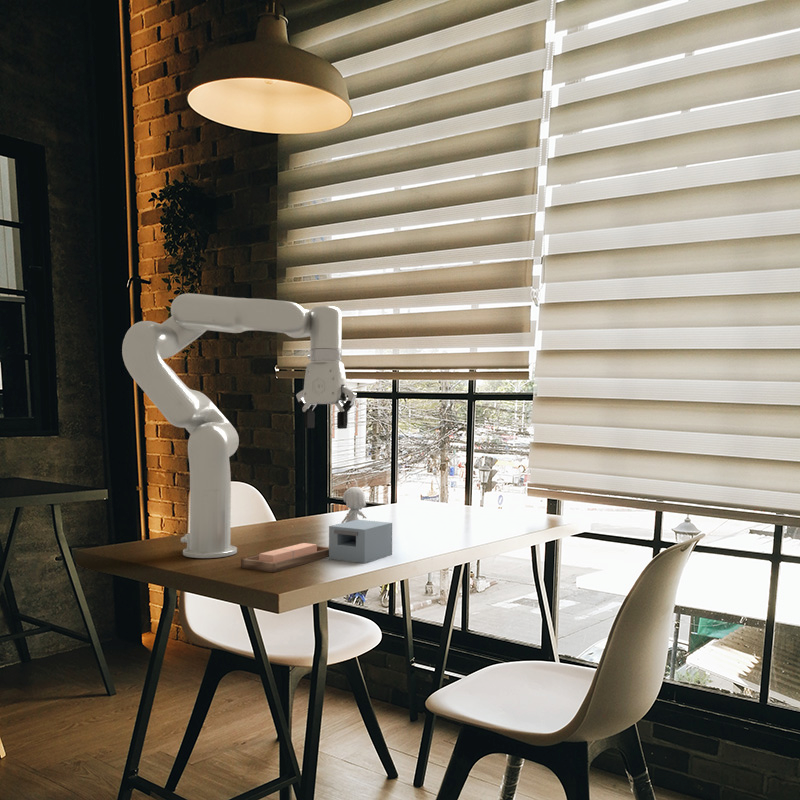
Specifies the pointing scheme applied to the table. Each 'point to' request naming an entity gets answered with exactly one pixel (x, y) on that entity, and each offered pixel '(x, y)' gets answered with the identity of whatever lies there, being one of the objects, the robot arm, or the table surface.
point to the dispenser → (360, 541)
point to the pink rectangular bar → (288, 552)
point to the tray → (284, 561)
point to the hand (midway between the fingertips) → (325, 428)
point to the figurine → (354, 503)
